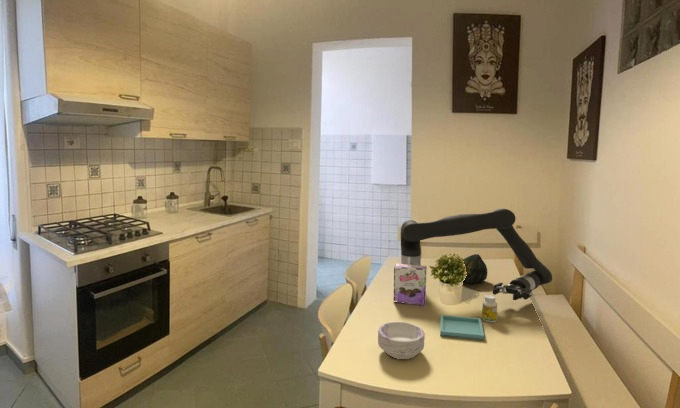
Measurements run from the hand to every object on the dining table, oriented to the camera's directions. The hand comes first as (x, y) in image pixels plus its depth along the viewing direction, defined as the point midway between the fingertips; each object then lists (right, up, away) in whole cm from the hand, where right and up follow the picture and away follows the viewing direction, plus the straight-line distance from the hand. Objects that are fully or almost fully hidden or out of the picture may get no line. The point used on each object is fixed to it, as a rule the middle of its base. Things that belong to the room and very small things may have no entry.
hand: (503, 295), depth 166 cm
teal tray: (-21, -10, -13) cm, 27 cm away
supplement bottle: (-8, -9, -5) cm, 13 cm away
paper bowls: (-46, -13, -30) cm, 57 cm away
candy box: (-36, -6, +14) cm, 39 cm away
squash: (0, -2, +41) cm, 41 cm away
